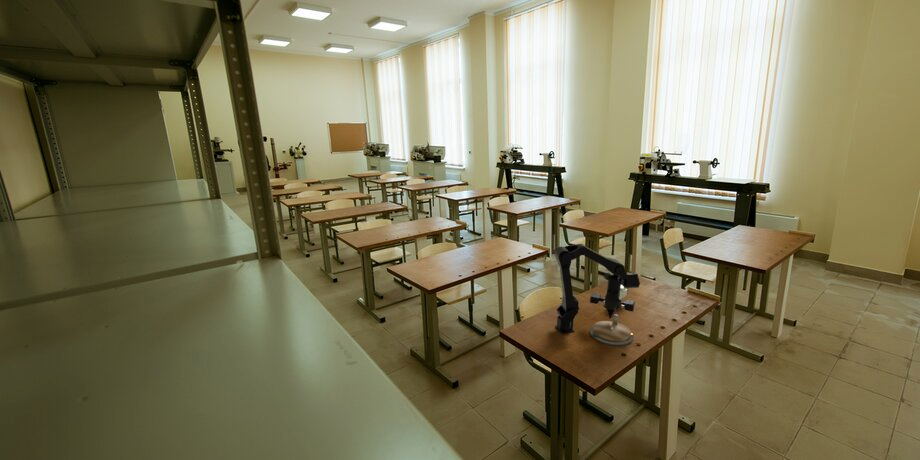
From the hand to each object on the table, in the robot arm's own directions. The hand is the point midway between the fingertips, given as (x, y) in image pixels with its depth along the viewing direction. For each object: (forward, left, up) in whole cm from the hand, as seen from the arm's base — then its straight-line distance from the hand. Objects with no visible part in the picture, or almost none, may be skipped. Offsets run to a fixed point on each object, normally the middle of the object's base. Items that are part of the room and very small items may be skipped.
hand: (610, 318), depth 179 cm
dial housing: (-4, -6, -4) cm, 8 cm away
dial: (-4, -6, -3) cm, 8 cm away
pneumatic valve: (+17, +17, -4) cm, 24 cm away
